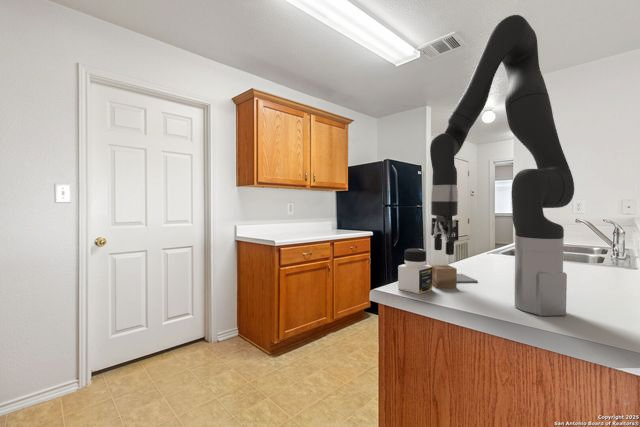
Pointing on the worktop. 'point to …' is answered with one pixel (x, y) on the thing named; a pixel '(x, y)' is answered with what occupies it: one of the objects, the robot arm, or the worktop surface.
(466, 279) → the slate coaster
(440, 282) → the walnut block
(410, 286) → the medicine bottle
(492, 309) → the worktop surface
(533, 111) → the robot arm
